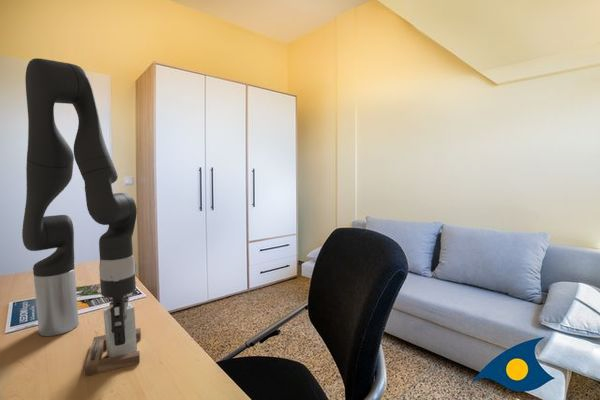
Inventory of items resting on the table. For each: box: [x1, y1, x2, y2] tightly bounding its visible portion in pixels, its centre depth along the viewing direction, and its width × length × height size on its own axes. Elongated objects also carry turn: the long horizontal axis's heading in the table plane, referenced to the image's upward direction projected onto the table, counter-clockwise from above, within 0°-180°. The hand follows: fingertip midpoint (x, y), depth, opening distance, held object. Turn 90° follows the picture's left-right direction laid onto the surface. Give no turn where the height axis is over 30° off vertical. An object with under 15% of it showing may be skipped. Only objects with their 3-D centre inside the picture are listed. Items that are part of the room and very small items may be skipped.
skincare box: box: [102, 302, 138, 358], centre depth 78 cm, size 6×4×12 cm
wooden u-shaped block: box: [83, 327, 142, 377], centre depth 78 cm, size 14×11×3 cm
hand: (121, 335), depth 78 cm, fingers open, 8 cm apart
